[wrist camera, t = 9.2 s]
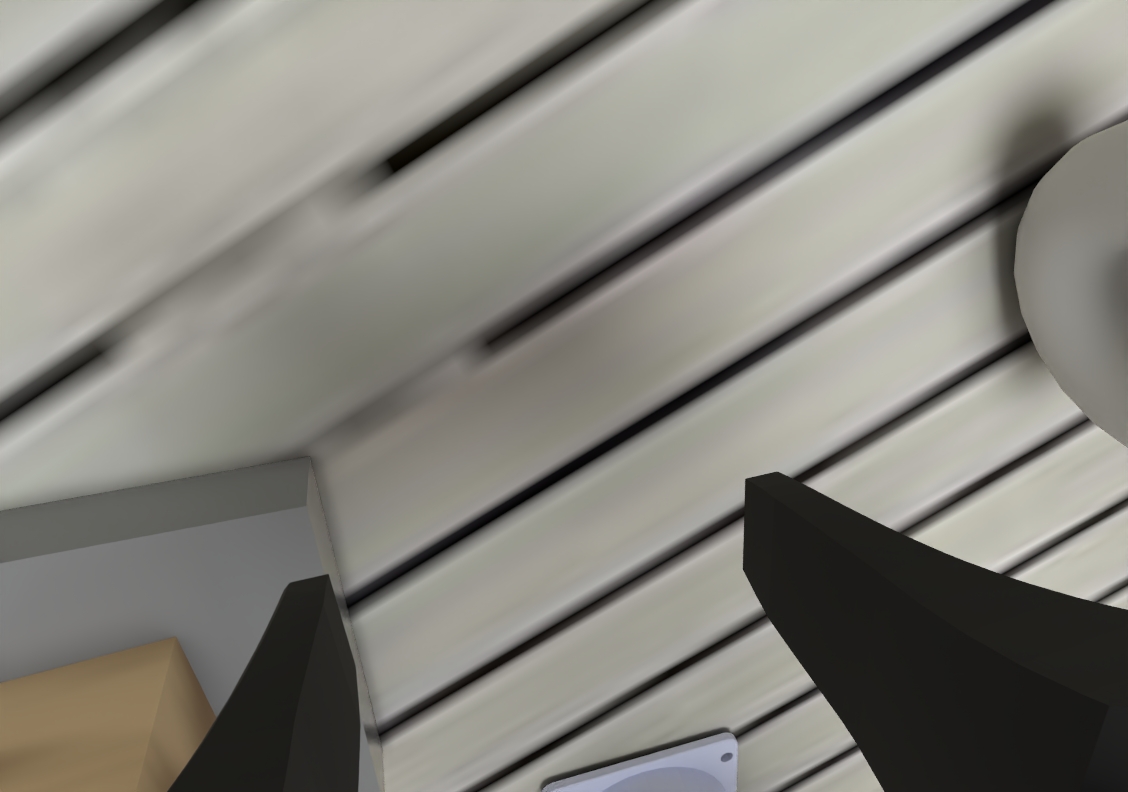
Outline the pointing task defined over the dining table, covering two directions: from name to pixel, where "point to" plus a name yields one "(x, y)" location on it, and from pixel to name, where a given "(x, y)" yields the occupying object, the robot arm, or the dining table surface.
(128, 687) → the oak cube
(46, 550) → the slate block
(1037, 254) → the donut
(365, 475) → the dining table surface
